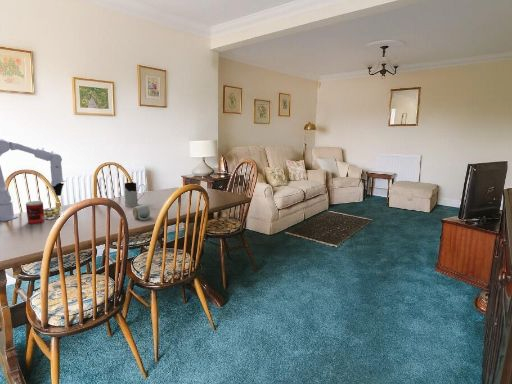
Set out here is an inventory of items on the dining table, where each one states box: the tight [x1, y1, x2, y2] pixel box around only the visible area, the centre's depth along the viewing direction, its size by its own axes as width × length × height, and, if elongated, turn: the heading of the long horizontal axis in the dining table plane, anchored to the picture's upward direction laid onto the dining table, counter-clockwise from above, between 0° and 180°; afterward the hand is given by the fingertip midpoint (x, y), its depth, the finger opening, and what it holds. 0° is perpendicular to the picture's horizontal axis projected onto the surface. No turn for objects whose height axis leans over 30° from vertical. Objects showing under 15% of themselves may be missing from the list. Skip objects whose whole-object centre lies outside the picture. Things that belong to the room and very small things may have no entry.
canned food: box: [25, 200, 45, 225], centre depth 175 cm, size 8×8×11 cm
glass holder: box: [123, 181, 146, 208], centre depth 219 cm, size 9×14×15 cm, turn 127°
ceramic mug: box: [132, 203, 151, 221], centre depth 190 cm, size 11×8×8 cm
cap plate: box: [44, 207, 64, 221], centre depth 188 cm, size 14×14×4 cm
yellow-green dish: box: [43, 201, 61, 216], centre depth 189 cm, size 13×10×5 cm
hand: (58, 195), depth 194 cm, fingers closed
